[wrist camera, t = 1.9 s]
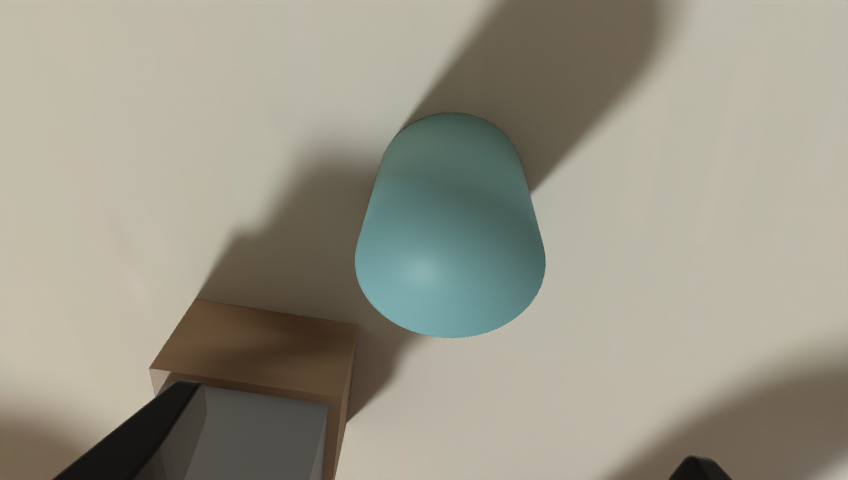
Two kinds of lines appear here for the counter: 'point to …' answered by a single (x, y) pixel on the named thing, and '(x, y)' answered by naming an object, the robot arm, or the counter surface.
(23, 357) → the counter surface
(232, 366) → the walnut base block
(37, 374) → the counter surface
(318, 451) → the grey square block
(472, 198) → the teal cylinder
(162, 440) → the robot arm
